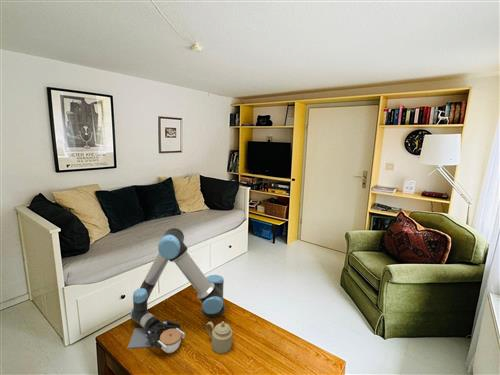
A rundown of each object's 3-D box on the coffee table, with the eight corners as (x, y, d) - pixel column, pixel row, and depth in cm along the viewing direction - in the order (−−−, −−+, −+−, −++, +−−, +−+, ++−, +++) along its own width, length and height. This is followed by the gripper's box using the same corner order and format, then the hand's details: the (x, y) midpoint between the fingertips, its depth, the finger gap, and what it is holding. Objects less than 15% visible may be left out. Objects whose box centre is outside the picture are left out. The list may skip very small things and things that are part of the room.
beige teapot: (202, 352, 137) (203, 327, 134) (206, 336, 148) (207, 313, 145) (230, 354, 137) (232, 329, 134) (232, 338, 148) (233, 314, 145)
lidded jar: (159, 343, 141) (158, 328, 139) (179, 338, 145) (179, 323, 143) (160, 359, 131) (160, 343, 129) (182, 353, 135) (182, 337, 134)
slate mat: (160, 327, 152) (160, 326, 152) (155, 346, 139) (155, 345, 139) (134, 329, 150) (134, 328, 150) (127, 348, 137) (127, 347, 136)
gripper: (167, 318, 157) (192, 335, 145) (131, 340, 139) (155, 363, 126) (167, 307, 156) (192, 323, 143) (130, 328, 137) (155, 350, 125)
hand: (175, 342), depth 135 cm, fingers closed on lidded jar, 11 cm apart
